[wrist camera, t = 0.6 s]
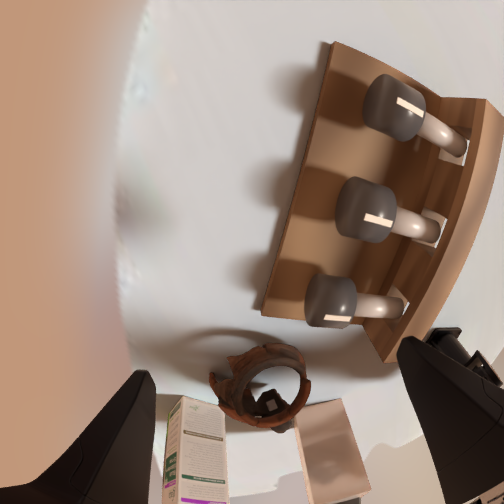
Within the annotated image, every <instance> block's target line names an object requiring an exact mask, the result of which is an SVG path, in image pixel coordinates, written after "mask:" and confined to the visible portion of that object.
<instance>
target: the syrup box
mask: <svg viewBox="0 0 504 504" xmlns="http://www.w3.org/2000/svg"><path fill="white" fill-rule="evenodd" d="M162 486H163V487H162V504H230V503H229V488H228V472H227V453H226V436H225V413H224V412H223V411H222V410H221V409H220V408H219V406H217V405H214V404H210V403H207V402H203V401H200V400H196V399H192V398H189V397H185V396H182V397H181V399H180V400H179V402H178V403H177V404H176V405H175V406H174V408H173V409H172V410H171V412H170V413H169V414H168V423H167V433H166V444H165V455H164V468H163V485H162Z"/></svg>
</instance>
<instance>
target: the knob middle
mask: <svg viewBox="0 0 504 504" xmlns="http://www.w3.org/2000/svg"><path fill="white" fill-rule="evenodd" d="M335 225H336V229H337V231H338V233H339V234H340V235H342V236H345V237H350V238H354V239H359V240H363V241H367V242H372V243H380V242H382V241H383V240H384V239H385V238H386V237H387V236H388V235H389V234H390V232H393V233H396V234H400V235H404V236H407V237H410V238H414V239H417V240H421V241H424V242H427V243H431V244H432V243H435V242H436V241H437V240H438V239H439V237H440V233H441V228H440V224H439V223H438V222H437V221H436V220H433V219H430V218H428V217H425V216H423V215H420V214H417V213H414V212H412V211H409V210H406V209H403V208H400V207H398V206H397V202H396V198H395V195H394V193H393V191H392V190H391V189H390V188H388V187H385V186H383V185H380V184H377V183H374V182H371V181H369V180H366V179H363V178H360V177H356V176H353V177H351V178H349V179H348V180H347V181H346V182H345V184H344V185H343V187H342V189H341V191H340V193H339V196H338V199H337V203H336V208H335Z"/></svg>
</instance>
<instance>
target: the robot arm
mask: <svg viewBox="0 0 504 504" xmlns="http://www.w3.org/2000/svg"><path fill="white" fill-rule="evenodd" d="M461 332H462V330H461V329H460V328H447V329H436V330H435V331H434V332H433V333H432V335H431V336H430V338H429V340H428V341H427V343H424V342H423V341H421V340H419V339H418V338H416V337H414V336H407V337H404V338H403V339H402V340H401V342H400V345H399V348H398V350H397V353H396V357H397V361H398V364H399V367H400V370H401V374H402V377H403V380H404V383H405V387H406V390H407V392H408V395H409V397H410V400H411V402H412V405H413V407H414V410H415V412H416V415H417V417H418V420H419V422H420V425H421V428H422V430H423V433H424V436H425V438H426V441H427V444H428V447H429V449H430V453H431V455H432V459H433V462H434V465H435V468H436V471H437V475H438V478H439V481H440V485H441V488H442V492H443V495H444V499H445V503H446V504H463V503H465V502H467V501H469V500H471V499H473V498H475V497H477V496H479V497H478V498H477V499H475V500H474V501H473V502H471V503H470V504H504V389H502V388H500V386H501V385H502V384H503V383H502V381H501V380H500V378H499V377H498V375H497V374H496V372H495V371H494V369H493V368H492V366H491V365H490V364H489V362H488V361H487V360H486V359H485V357H484V356H483V355H482V354H481V353H480V352H479V351H478V350H477V351H476V352H475V354H474V355H473V356H472V357H471V356H470V355H469V354H468V352H467V351H466V350H465V349H464V347H463V346H462V345H461V343H460V342H459V341H458V340H457V338H458V337H459V335H460V333H461ZM482 364H483V366H481V365H482ZM155 409H156V386H155V383H154V381H153V379H152V377H151V375H150V373H149V372H148V371H147V370H136V371H135V372H134V373H133V374H132V375H131V376H130V377H129V378H128V380H127V381H126V382H125V383H124V384H123V385H122V387H121V388H120V389H119V390H118V391H117V392H116V394H115V395H114V396H113V397H112V398H111V399H110V400H109V402H108V403H107V404H106V405H105V406H104V407H103V409H102V410H101V411H100V412H99V413H98V414H97V416H96V417H95V418H94V419H93V420H92V421H91V423H90V424H89V425H88V426H87V427H86V428H85V430H84V431H83V432H82V433H81V434H80V436H79V437H78V438H77V439H76V440H75V441H74V442H73V444H72V445H71V446H70V447H69V448H68V449H67V450H66V451H65V452H64V453H63V454H62V455H61V457H60V458H58V459H57V460H56V461H55V462H54V463H53V464H52V465H51V466H50V467H49V468H48V469H47V470H46V471H44V472H43V473H42V474H41V475H40V476H39V477H38V478H37V479H35V480H33V481H32V482H30V483H27V484H23V485H18V486H11V487H3V488H0V504H148V495H149V482H150V470H151V460H152V451H153V442H154V433H155Z"/></svg>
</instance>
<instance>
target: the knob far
mask: <svg viewBox="0 0 504 504" xmlns="http://www.w3.org/2000/svg"><path fill="white" fill-rule="evenodd" d="M403 311H404V302H403V300H402V299H401V298H398V297H389V296H381V295H372V294H364V293H357V290H356V286H355V284H354V282H353V281H352V280H351V279H350V278H346V277H339V276H333V275H326V274H320V273H317V274H315V275H314V276H313V277H312V278H311V280H310V282H309V284H308V287H307V290H306V294H305V301H304V314H305V319H306V322H307V324H308V325H309V326H311V327H324V328H339V329H343V328H345V327H347V326H348V325H349V324H350V322H351V321H352V319H353V317H354V316H358V317H373V318H389V319H398V318H400V317H401V316H402V314H403Z"/></svg>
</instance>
